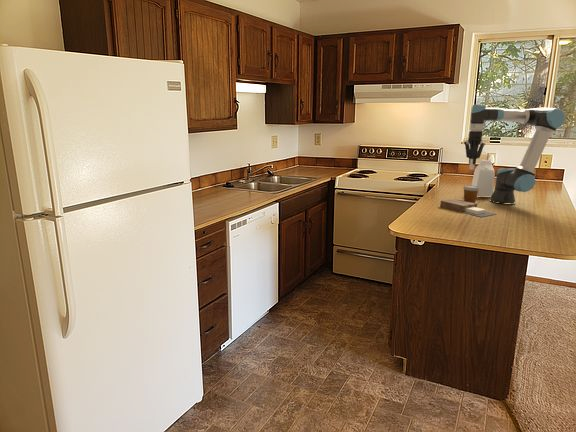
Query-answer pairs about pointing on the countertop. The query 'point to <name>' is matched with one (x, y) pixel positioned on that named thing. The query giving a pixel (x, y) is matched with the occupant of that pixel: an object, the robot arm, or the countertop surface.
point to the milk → (484, 178)
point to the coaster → (475, 210)
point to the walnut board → (457, 205)
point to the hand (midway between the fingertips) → (471, 169)
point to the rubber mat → (481, 214)
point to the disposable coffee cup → (470, 193)
